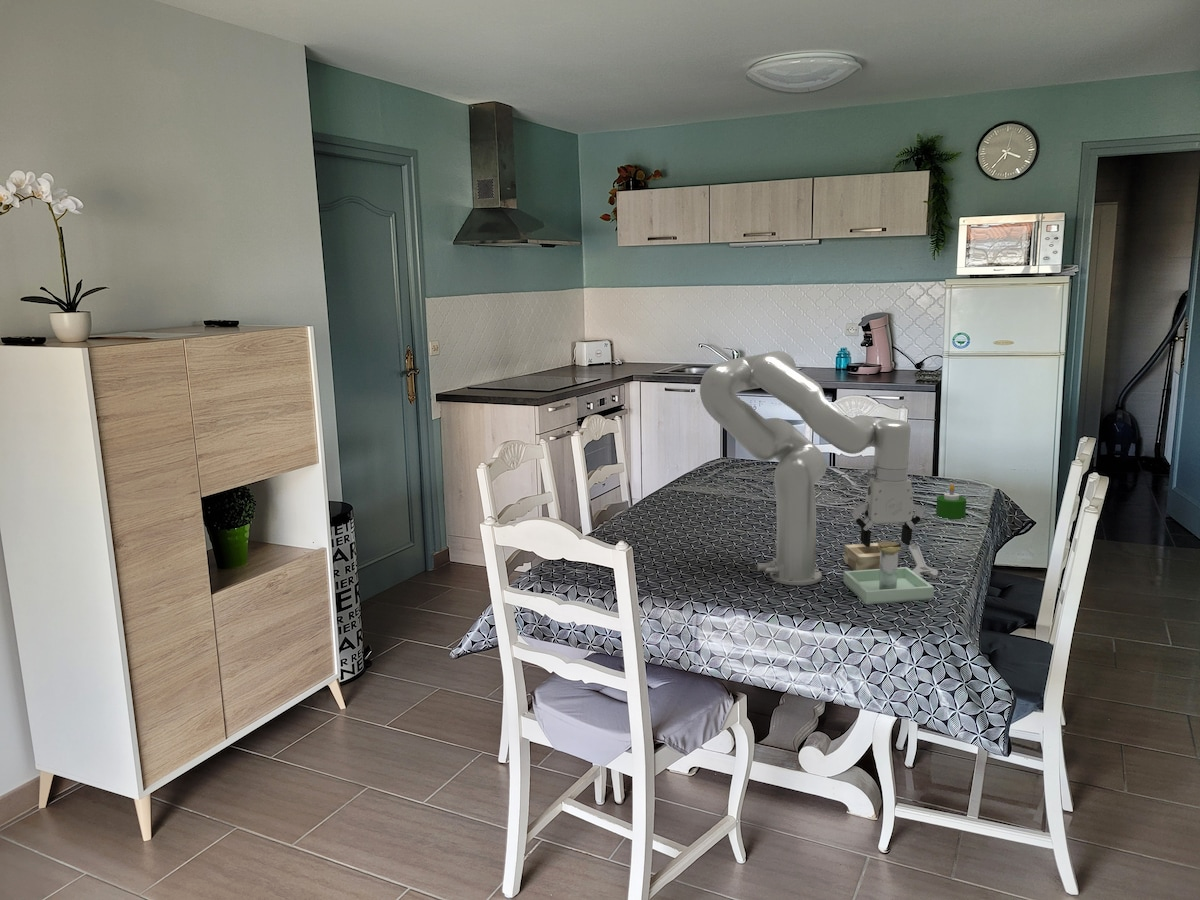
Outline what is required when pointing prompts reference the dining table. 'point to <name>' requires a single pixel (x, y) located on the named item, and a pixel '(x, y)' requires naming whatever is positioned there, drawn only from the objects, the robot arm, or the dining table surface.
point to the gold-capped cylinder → (888, 564)
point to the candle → (951, 505)
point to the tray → (907, 589)
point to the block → (862, 556)
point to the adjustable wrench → (921, 563)
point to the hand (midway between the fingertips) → (885, 544)
